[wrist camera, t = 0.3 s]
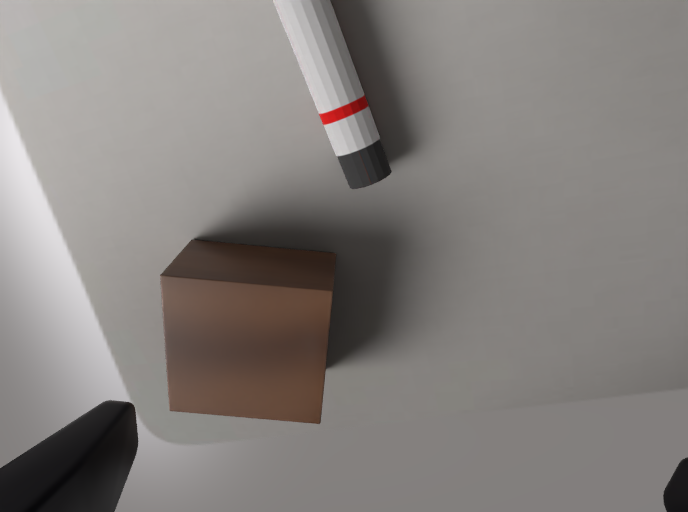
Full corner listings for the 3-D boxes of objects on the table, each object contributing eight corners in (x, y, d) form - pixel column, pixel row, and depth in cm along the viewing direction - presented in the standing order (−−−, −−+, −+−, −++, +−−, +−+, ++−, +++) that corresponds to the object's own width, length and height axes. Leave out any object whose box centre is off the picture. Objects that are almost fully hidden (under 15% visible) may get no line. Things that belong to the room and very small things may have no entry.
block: (325, 370, 25) (320, 424, 22) (196, 359, 25) (169, 411, 21) (336, 252, 22) (333, 291, 19) (191, 239, 22) (159, 275, 19)
